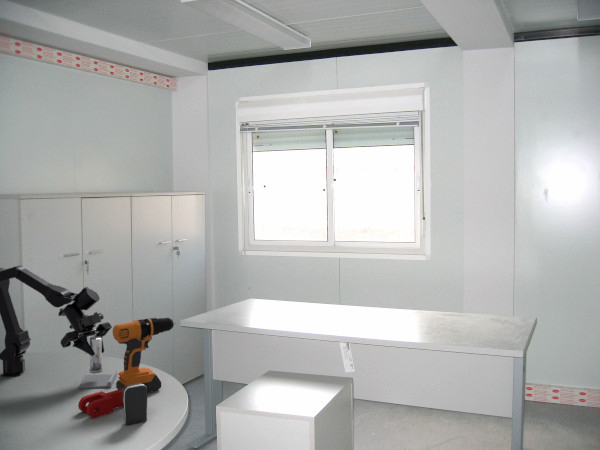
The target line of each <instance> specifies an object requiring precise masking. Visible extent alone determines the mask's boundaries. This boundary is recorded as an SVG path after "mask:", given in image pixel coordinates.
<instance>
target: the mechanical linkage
mask: <svg viewBox="0 0 600 450" xmlns="http://www.w3.org/2000/svg"><path fill="white" fill-rule="evenodd" d="M122 391H123V389H119V390H118V389H116V390H113V391H109V392H105V391H102V390H101V391H99V392H95V393H91V394H87V395H84V396H83V397H81V398H80V400H79V401H78V404H77V407H78V410H80V412H83V413H84V414H86V415H88V416H89V417H90V418H92V419H96V418H99V417H103V416H105V415H108V414H112V413H114V411H115V409H118V408H121V407H124V404H123V403H122ZM117 407H118V408H117Z"/></svg>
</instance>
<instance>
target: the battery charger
mask: <svg viewBox="0 0 600 450" xmlns="http://www.w3.org/2000/svg"><path fill="white" fill-rule="evenodd" d="M122 403H123V404H124V406H123V424H124V425H126V426H129V425H134V424H138V423H143V422H145V421H147V420H148V393H147V388H146V386H145V385H143V384H142V383H136V384H131V385H127V386H125V387H124V388H123V391H122Z"/></svg>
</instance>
